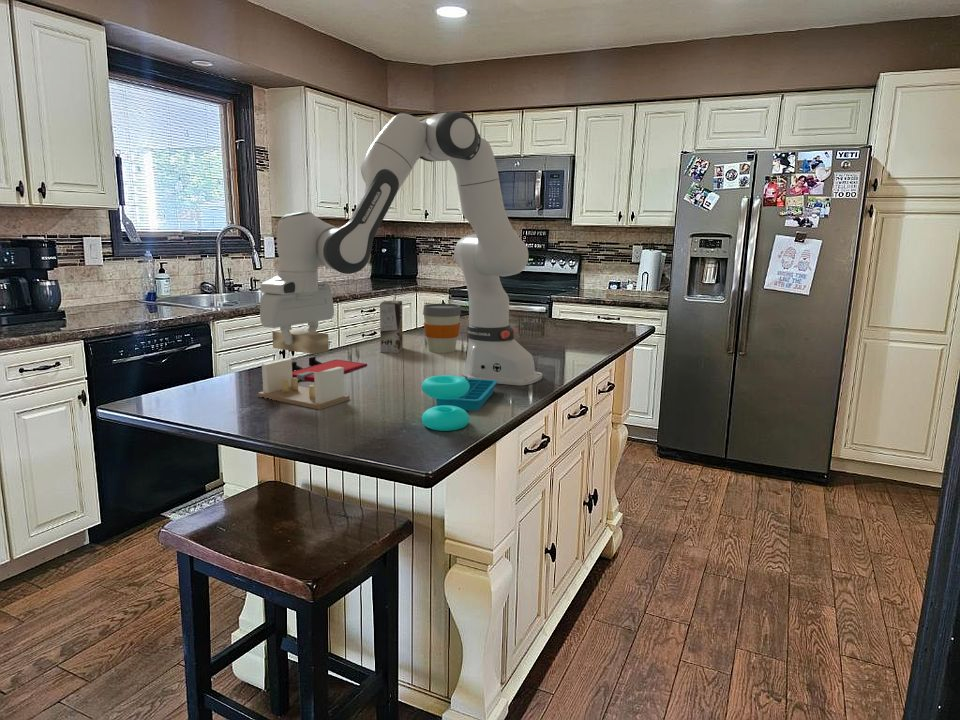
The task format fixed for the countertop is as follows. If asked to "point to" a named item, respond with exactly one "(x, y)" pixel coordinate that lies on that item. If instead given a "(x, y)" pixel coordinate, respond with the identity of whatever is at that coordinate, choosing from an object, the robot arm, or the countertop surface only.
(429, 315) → the reusable coffee cup
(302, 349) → the tan wooden block
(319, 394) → the cradle
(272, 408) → the countertop surface
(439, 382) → the donuts
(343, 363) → the red board with handle
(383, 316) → the coffee box
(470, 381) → the ice cube tray
